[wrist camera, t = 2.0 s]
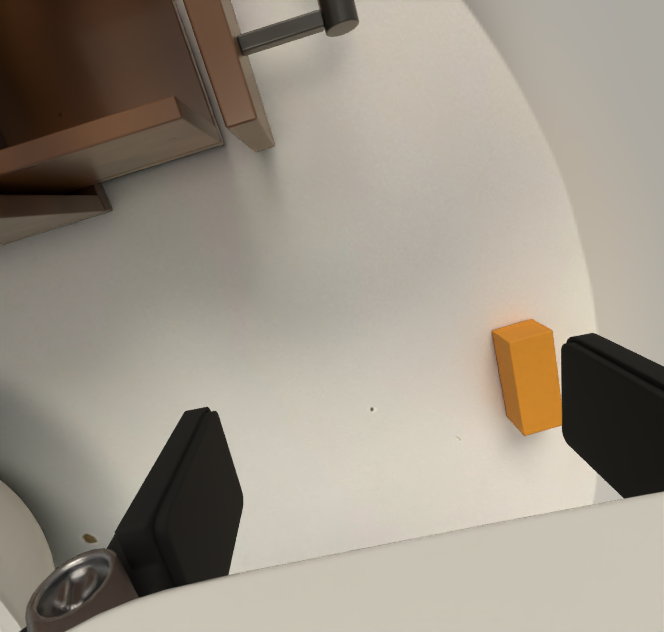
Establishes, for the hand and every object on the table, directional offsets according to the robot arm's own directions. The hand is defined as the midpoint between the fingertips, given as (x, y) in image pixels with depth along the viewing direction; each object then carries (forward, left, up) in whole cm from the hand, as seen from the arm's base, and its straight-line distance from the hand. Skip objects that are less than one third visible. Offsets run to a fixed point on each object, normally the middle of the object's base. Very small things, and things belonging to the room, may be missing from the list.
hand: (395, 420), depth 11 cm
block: (-10, +9, -15) cm, 20 cm away
